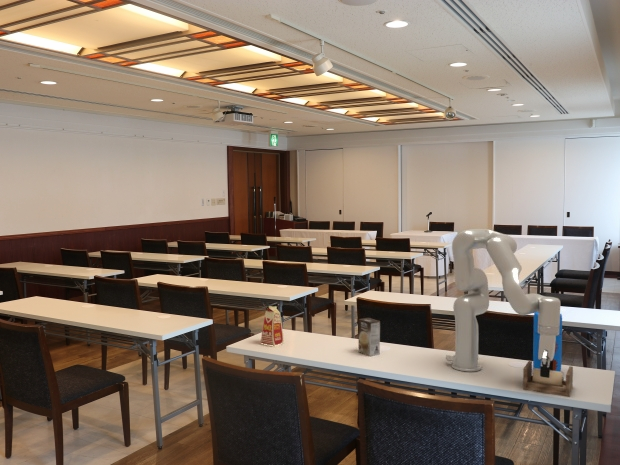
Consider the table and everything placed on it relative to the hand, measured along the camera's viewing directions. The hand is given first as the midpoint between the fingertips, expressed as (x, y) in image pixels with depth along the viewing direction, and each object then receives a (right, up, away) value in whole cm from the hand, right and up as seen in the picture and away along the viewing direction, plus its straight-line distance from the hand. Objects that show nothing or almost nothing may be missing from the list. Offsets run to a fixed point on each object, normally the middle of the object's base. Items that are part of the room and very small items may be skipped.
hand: (546, 373), depth 212 cm
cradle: (0, -6, 0) cm, 6 cm away
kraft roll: (0, -5, 0) cm, 5 cm away
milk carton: (-110, -3, +69) cm, 130 cm away
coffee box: (-63, -3, +50) cm, 80 cm away
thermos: (+8, -5, +19) cm, 21 cm away
